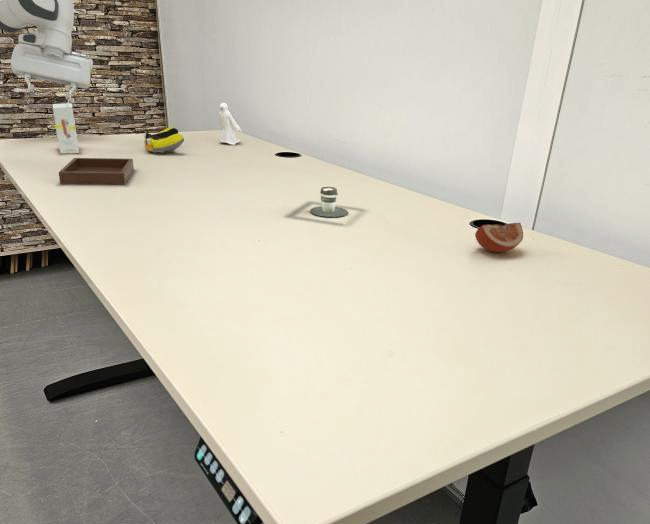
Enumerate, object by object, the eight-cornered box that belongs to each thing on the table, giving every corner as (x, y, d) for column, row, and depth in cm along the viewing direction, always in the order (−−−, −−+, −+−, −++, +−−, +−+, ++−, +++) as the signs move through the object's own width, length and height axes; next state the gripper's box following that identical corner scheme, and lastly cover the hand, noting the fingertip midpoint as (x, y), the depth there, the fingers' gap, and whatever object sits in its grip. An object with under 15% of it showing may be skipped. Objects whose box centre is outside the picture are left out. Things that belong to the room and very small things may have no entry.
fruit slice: (504, 243, 107) (509, 216, 105) (529, 255, 101) (535, 227, 99) (465, 247, 104) (470, 219, 102) (489, 260, 98) (494, 231, 96)
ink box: (58, 148, 164) (51, 102, 159) (77, 147, 166) (71, 102, 160) (59, 154, 157) (52, 106, 152) (79, 153, 159) (73, 106, 153)
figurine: (212, 142, 182) (211, 101, 177) (231, 140, 188) (230, 100, 183) (230, 146, 179) (229, 104, 173) (248, 143, 184) (248, 102, 179)
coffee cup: (364, 209, 123) (366, 185, 121) (346, 224, 113) (348, 198, 110) (310, 201, 126) (311, 178, 124) (288, 215, 116) (289, 190, 114)
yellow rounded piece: (178, 145, 176) (143, 145, 173) (177, 126, 173) (141, 126, 170) (185, 155, 163) (148, 156, 160) (184, 134, 161) (146, 134, 158)
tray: (60, 184, 129) (58, 172, 128) (75, 168, 143) (73, 157, 142) (125, 184, 131) (123, 173, 130) (133, 169, 145) (132, 158, 144)
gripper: (93, 61, 172) (89, 107, 171) (15, 44, 165) (10, 92, 164) (93, 51, 166) (89, 99, 165) (12, 32, 159) (7, 82, 158)
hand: (49, 95), depth 164 cm, fingers open, 8 cm apart
